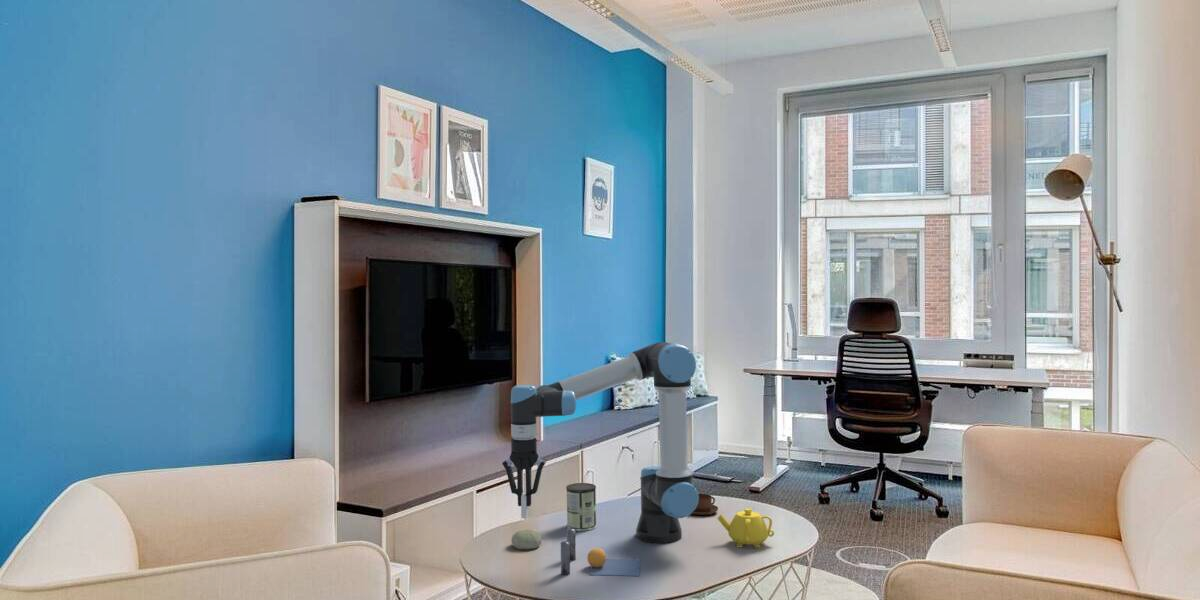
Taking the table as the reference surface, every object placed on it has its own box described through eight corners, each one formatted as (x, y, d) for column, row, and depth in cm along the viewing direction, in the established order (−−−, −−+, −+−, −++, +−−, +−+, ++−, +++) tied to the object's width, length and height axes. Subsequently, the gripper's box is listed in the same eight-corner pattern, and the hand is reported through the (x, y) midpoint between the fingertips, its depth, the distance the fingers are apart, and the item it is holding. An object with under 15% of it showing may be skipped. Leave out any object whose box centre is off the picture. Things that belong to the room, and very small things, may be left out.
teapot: (748, 534, 263) (748, 500, 263) (778, 544, 251) (778, 509, 251) (716, 542, 255) (715, 507, 255) (745, 553, 243) (745, 517, 243)
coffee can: (577, 521, 280) (577, 481, 280) (601, 525, 274) (601, 484, 274) (560, 528, 271) (560, 487, 271) (585, 532, 266) (585, 491, 266)
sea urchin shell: (539, 545, 247) (521, 526, 248) (522, 563, 248) (504, 543, 249) (547, 536, 256) (530, 518, 257) (530, 553, 257) (513, 534, 258)
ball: (584, 553, 235) (597, 567, 235) (582, 560, 230) (595, 574, 229) (598, 541, 235) (610, 555, 234) (596, 547, 229) (608, 562, 229)
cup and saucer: (696, 506, 298) (696, 490, 298) (724, 512, 290) (724, 495, 290) (678, 513, 289) (678, 496, 289) (707, 519, 281) (706, 502, 281)
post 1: (570, 572, 228) (570, 541, 228) (569, 575, 225) (569, 543, 225) (561, 571, 228) (561, 541, 228) (560, 575, 226) (560, 543, 225)
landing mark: (640, 559, 238) (640, 559, 238) (638, 576, 224) (638, 575, 224) (594, 558, 239) (594, 558, 239) (589, 575, 225) (589, 574, 225)
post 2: (576, 557, 240) (575, 528, 240) (575, 560, 238) (574, 530, 238) (567, 557, 241) (567, 528, 241) (566, 560, 238) (566, 530, 238)
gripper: (499, 439, 231) (500, 520, 231) (543, 440, 230) (544, 520, 230) (505, 435, 238) (505, 513, 239) (547, 435, 237) (548, 513, 237)
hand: (524, 516), depth 234 cm, fingers closed
